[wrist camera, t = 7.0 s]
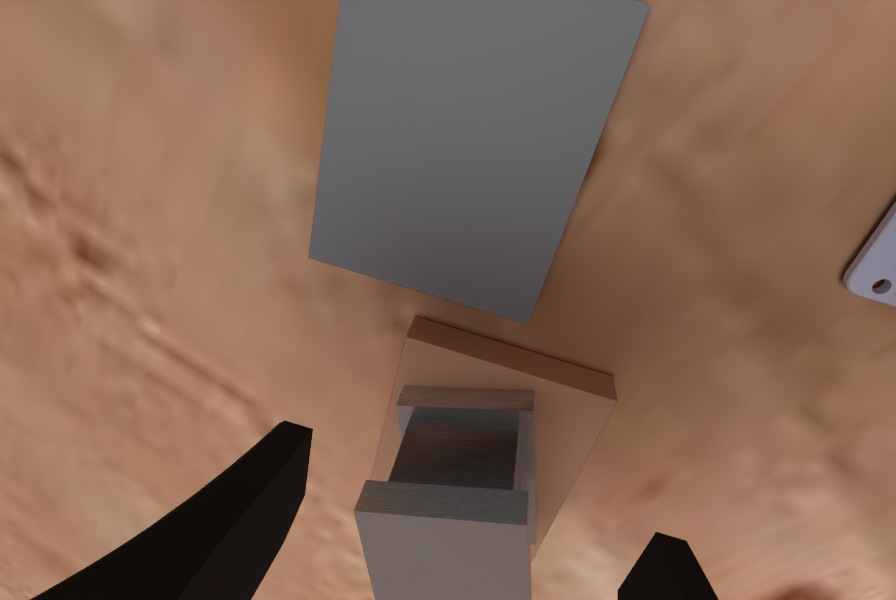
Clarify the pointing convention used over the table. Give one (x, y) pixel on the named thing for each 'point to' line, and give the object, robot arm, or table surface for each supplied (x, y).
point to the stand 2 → (508, 367)
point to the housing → (455, 498)
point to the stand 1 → (464, 139)
